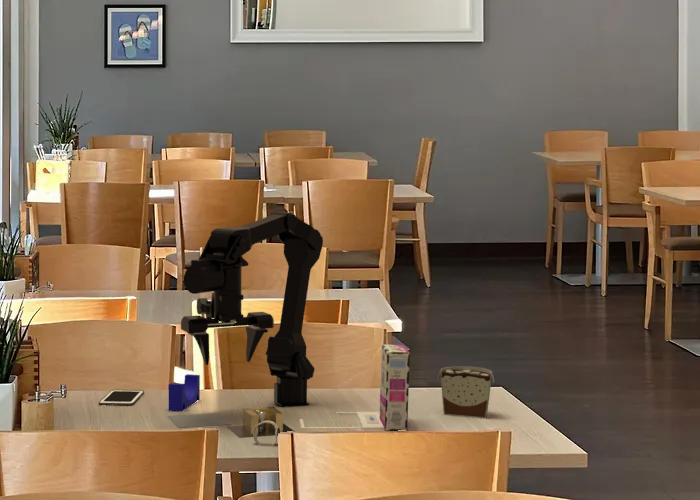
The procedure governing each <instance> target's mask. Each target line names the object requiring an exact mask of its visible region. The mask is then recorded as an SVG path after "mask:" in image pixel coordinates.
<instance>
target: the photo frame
mask: <svg viewBox="0 0 700 500" xmlns="http://www.w3.org/2000/svg"><path fill="white" fill-rule="evenodd" d="M335 412H336V414H338V415H339V416H357V419H358V421H359V424H360V426H305V424H304V419H303V418H299V422H300V428H301V429H318V428H319V429H323V428H325V429H326V428H327V429H331V428H332V429H334V428H336V429H341V428H343V429H345V428H346V429H354V428H359V429H362V430H364V431H385V430H384V426H383V424H382V422H381V420H380V411H335Z"/></svg>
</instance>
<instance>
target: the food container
mask: <svg viewBox="0 0 700 500" xmlns="http://www.w3.org/2000/svg"><path fill="white" fill-rule="evenodd" d="M437 375H438V376H437V379H440V384H441V399H442V411H443V416H452V417H453V416H454V417H464V418H477V419H487V418H488V417H487V416H488V409H489V403H490V394H491V393H490V392H491V385H492V383H495V378H494V374H493V371H492V370H491V369H488V368H486V367H479V366H478V367H477V366H468V365H467V366H463V365H461V366H460V365H459V366H457V365H455V366H446V367H445V366H444V367H442V368H440V371H438V374H437Z"/></svg>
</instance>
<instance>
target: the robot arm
mask: <svg viewBox="0 0 700 500" xmlns="http://www.w3.org/2000/svg"><path fill="white" fill-rule="evenodd" d="M275 236H276V238H277V239H278V240H279V241H280V242H281V243H282V244H283V255H284V258H285V260H286V263H287V266H288V267H287V268H288V269H287V276H286V282H285V289H284V296H283V303H282V309H281V317H280V323H279V328H278V331H277V333H275V335H273V336H269V337H268V340H267V347H266V351H265V355H266V363H267V364H268V365H267V366H268V369H269V373H270V376H272V377H276V382H274V384H273V402H274V403H275V404H277V405H278V406H280V407H281V408H286V407H287V408H289V407H291V408H292V407H303V406H304V407H305V406H306V407H307V406H310V402H308V380H310V379H312V378H313V377H314V374H315V367H314V366H313V364H312V363H311V361H310V360H309V359H308V357H307V344H306V341H305V340H304V339H305V338H304V337H303V335H302V333H303V331H302V330H303V325H304V318H305V309H306V306H307V305H306V303H307V296H308V290H309V283H310V276H311V271H312V268H313V267H314V266H315V265H316V263H317V262H318V260H319V259H320V257H321V253H322V249H323V244H324V239H323V236H322V235H321V231H319V230H318V229H316V228H314V227H313V226H312V225H310V224H308V223H306V222H304V221H303V220H301V219H299V218H298V216H297V215H296V214H294V213H292V212H288V211H286V212H284V211H276V212H275V213H273V214H271V215H269V216H266V217H263V218H261V219H257V220H255V221H252V222H250V223H247V224H244V225H241V226H232V227H231V226H228V227H227V226H226V227H218V228H217V227H216V228H215V229H213V230H212V231H211V232H210V236H209V238H208V239H207V241H206V244H205V246H204V248H203V250H202V252H201V254H200V256H199V258H198V259H191V261H190V266H189V267H188V268H187V269H185V273H184V275H183V284H184V287H185V289H186V290H187V291H188V292H189V293H190V294H193V295H195V294H204V293H209V292H212V293H211V300H208V297H202V298H201V297H199V298H197V299H196V313H197V314H198V315H185V316H183V317H182V319H181V321H180V330H181V331H183V332H186V333H187V335H190V336H192V337H193V338H194V339H195V341H196V344H197V345H198V348H199V351H200V355H201V357H202V360H203V362H204V365H206V366H209V362H210V334H209V333H207V330H208V329H210V328H227V327H228V328H230V327H241V326H243V327H244V326H245V331H246V335H247V336H246V350H245V356H246V357H245V358H246V359H245V360H246V361H245V362H247V363H250V362H251V360H252V357H253V356H254V354H255V351H256V349H257V347H258V345H259V342H260V340H261V339H262V337H263V336H264V334H266V333H269V330H268V329H273V328H274V326H275V320H274V317H273V316H272V314H271V313H268V312H265V311H252V312H250V311H249V312H247V315H246V316H244V314H243V313H242V301H244V294H242V268H243V267H248V266H249V262H248V260H246V259H245V258H244V257H243V256H244V255H245V254H247V253H248V252H250V251H251V249H252V247H253V246H254V245H256V244H258V243H260V242H263V241H266V240H267V239H270V238H271V239H272V238H273V237H275ZM202 315H205V317H203V316H202Z"/></svg>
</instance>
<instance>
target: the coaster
mask: <svg viewBox="0 0 700 500" xmlns="http://www.w3.org/2000/svg"><path fill="white" fill-rule="evenodd" d="M167 418H168V419H169V420H170V421H171V422H172V423H173V424H174V425H175V426H176V427H177V428H178V429H186V428H200V427H202V428H203V427H214V426H215V427H217V426H233V425H232V424H233V423H231V422H230V421H229V420H227V418H226V417H224V416H223V415H222V414H221V413H219V412H209V413H208V412H207V413H193V414H191V413H190V414H174V415H167Z"/></svg>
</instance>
